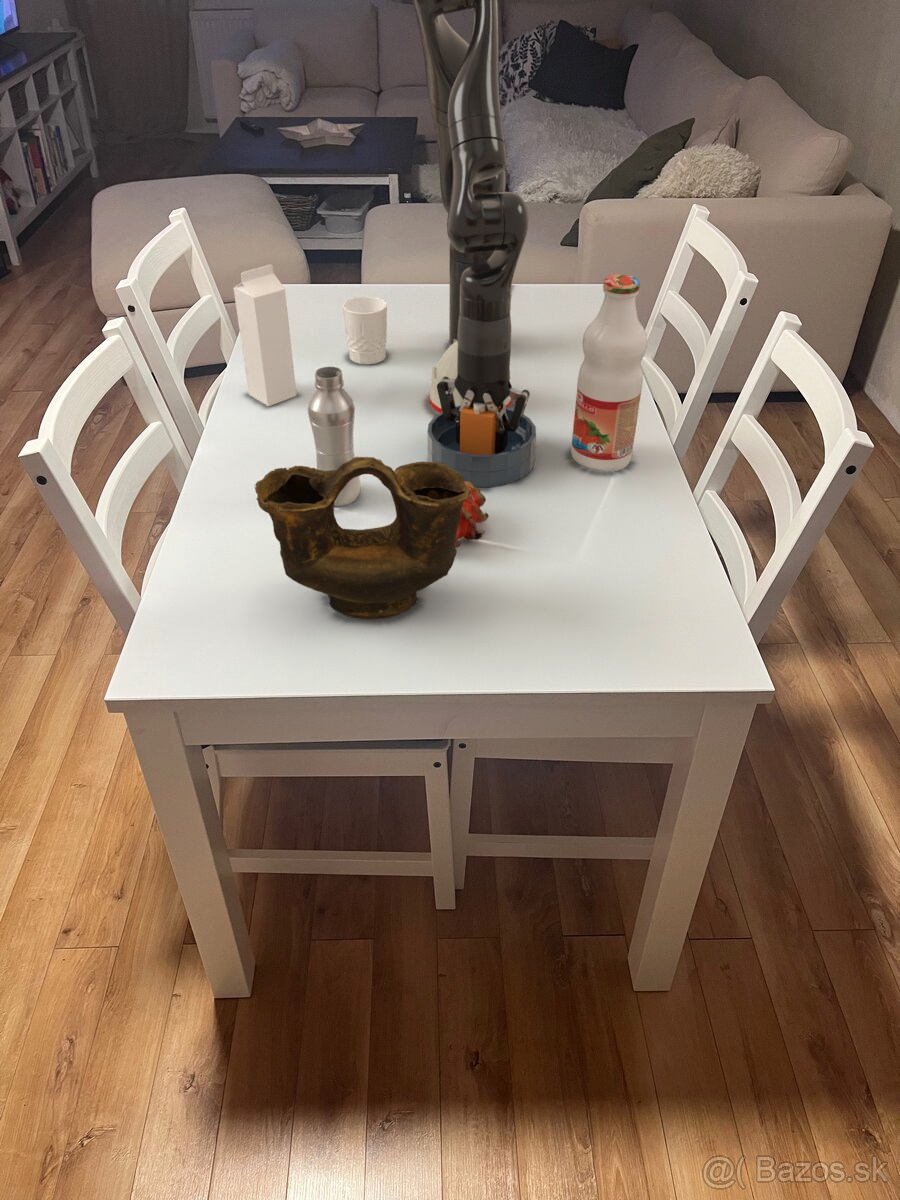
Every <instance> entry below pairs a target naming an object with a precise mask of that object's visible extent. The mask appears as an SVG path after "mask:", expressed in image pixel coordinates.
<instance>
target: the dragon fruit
mask: <svg viewBox="0 0 900 1200" xmlns="http://www.w3.org/2000/svg"><path fill="white" fill-rule="evenodd" d="M465 484H466V485H467V486H469V487H470V489H471V491H470V493H469V497H468V498H466V499H465V501H464V503H463V506H462V511H461V515H462V516H461V518H460V521H459V525H458V529H457V533H456V538H455V547H456V549H457V548H459V547H460V546H461V545H462V541H461V542H460V541H459V540H461V539H463V538H464V539H465V540H466V541H479V540H481V538H482V537H483V536H484V535H485V530H477V525H476V524H477V523H478V524H483V523H486V521H488V519H489V516H490V515H489V513H487V512H483V510H482V509H481V507H483V506H484V505H485V503H486V501H487V499H486V497H485V495H484V494H483V493H482V492H481V489H480V488H479V487H475V486H473V484H472V483H471V482H469V481H465Z"/></svg>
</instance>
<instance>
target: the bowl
mask: <svg viewBox="0 0 900 1200" xmlns="http://www.w3.org/2000/svg"><path fill="white" fill-rule="evenodd" d="M460 407H461V406H457V407H456V410H458V411H459V409H460ZM513 411H514V408H510V407H509V408H508V407H506V414H507V417H508V420H511V417H512V414H513ZM427 425H428V426H427V462H439V463H441V464H445V465H447V466H448V467H449V468H451V469H452V470H454V471H456V472H458V473H459V474H460V475H461V476H464V477H465V481H469V482H471V483H472V484H473V486H475V487H477V488H493V487H494V488H495V487H500V486H505V485H509V484H512V483H514V482H517V481H519V480H521V479H523V478H524V477H525V476H527V475H529V473H530V472H531V470H532V469H533V467H534V465H535V456H536V455H535V454H536V442H537V426H536V425H535V423H534V422H533V421H532V419H531V418H530V417H529V416H527V415H525V413H524V414H523V417H522V421H521V423H520V425H519V426H518V428H517V430H516V431H515V432H511V431H508V443H507V446H506V448H505V450H504V451H502V453H498V454H491V455H483V454H469V453H464V452H460V447H459V443H457V442H456V424H455V423H454V422H453V421H451V420H445V419H444V417H443V413H442V412H441V413H439V412H438V414H436V415H434V416H433V417H432V419H431V420H430V421H429V422H428V424H427Z"/></svg>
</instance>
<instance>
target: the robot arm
mask: <svg viewBox="0 0 900 1200" xmlns="http://www.w3.org/2000/svg"><path fill="white" fill-rule="evenodd" d="M411 2H412V5H413V10H414V14H415V19H416V24H417V26H418V27H417V28H418V32H419V37H420V41H421V45H422V46H421V47H422V52H423V60H424V69H425V78H426V88H427V89H426V90H427V95H428V102H429V109H430V113H431V118H432V123H433V129H434V134H435V141H436V146H437V156H438V170H439V184H440V185H439V187H440V196H441V202H442V206H443V208H444V210H445V211H446V213H447V219H446V232H447V236H448V240H449V241H450V242H449V307H448V308H449V310H448V311H449V313H448V314H449V317H448V319H449V321H448V322H449V323H448V324H449V326H448V327H449V329H448V332H449V333H448V335H449V336H448V348H449V347H450V346H451V345H452V344H453V343H454V342H456V341H457V342H458V356H457V372H458V375H457V378H456V379H449V378H448V377H443V378H442V379H441V381H440V382H439V383H438V384H437V390H438V395H439V399H440V404H441V408H442V413H443V417H444V419H445V420H451V421H453V422H454V423H455V424H456V442H457V443H459V447H460V412H461V410H462V409H463V408H465V409H469V407H472V408H474V402H477V403H483V404H486V410H488V411H489V413H494V414H495V420H496V429H497V432H496V437H495V454H498V453H501V452H502V451H504V450H505V448H506V446H507V443H508V431H511V432H515V431H516V430H517V428H518V426H519V425H520V423H521V421H522V417H523V414H524V415H525V410H526V407H527V404H528V401H529V398H530V395H531V394H530V391H529V390H528V389H522V391H521V390H519V389H515V388H513V386H512V383H511V380H509V371H510V372H511V370H510V369H511V368H510V367H511V349H512V317H511V306H512V288H513V281H514V277H515V273H516V270H517V266H518V263H519V259H520V256H521V254H522V251H523V247H524V244H525V241H526V238H527V236H528V235H527V234H528V230H529V223H530V222H529V220H530V218H529V210H528V206H527V204H526V202H525V200H524V199H523V198H522V196H521V195H520V194H518V193H516V192H513V191H506V187H507V175H506V166H507V149H506V142H505V133H504V123H503V117H502V109H501V98H500V45H499V43H500V42H499V41H500V40H499V39H500V38H499V14H498V13H499V12H498V0H412V1H411ZM472 10H473V28H472V34H471V38H470V42H469V43H468V42H467V41H466V40H465V39H464V38H463V37H461V36H460V35H459V34H458V33H457V31H455V30H454V29H453V28H452V27H451V25H450V24H449V23H448V21H447V19H446V17H445V16H444V15H448V14H454V13H460V12H466V11H472ZM454 387H455V388H456V389H457V391H458V392H459V394H460V396H461V397H462V399H463V402H462V404H461V407H460V409H459V411H458V410H456V406H455V401H454V397H453V391H454ZM508 396H510V397H511V404H512V406H513V407H514V408H513V410H514V411H513V414H512V417H511V420H508V417H507V414H506V407H505V404H504V400H505V399H506V398H507V397H508ZM500 405H501V408H500V410H499V411H498V409H497V408H498V407H499V406H500Z"/></svg>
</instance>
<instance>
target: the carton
mask: <svg viewBox="0 0 900 1200" xmlns="http://www.w3.org/2000/svg"><path fill="white" fill-rule="evenodd" d="M500 408H501V405H500V406H499V407H498V408H497V409H498V411H499V410H500ZM496 432H497V429H496V420H495V414H494V413H489V411H488V410H486V404H483V403H477V402H474V408H472V407H469V409H465V408H463V409H462V410H461V412H460V452H464V453H469V454H483V455H491V454H495V437H496ZM501 453H502V452H501Z"/></svg>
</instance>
